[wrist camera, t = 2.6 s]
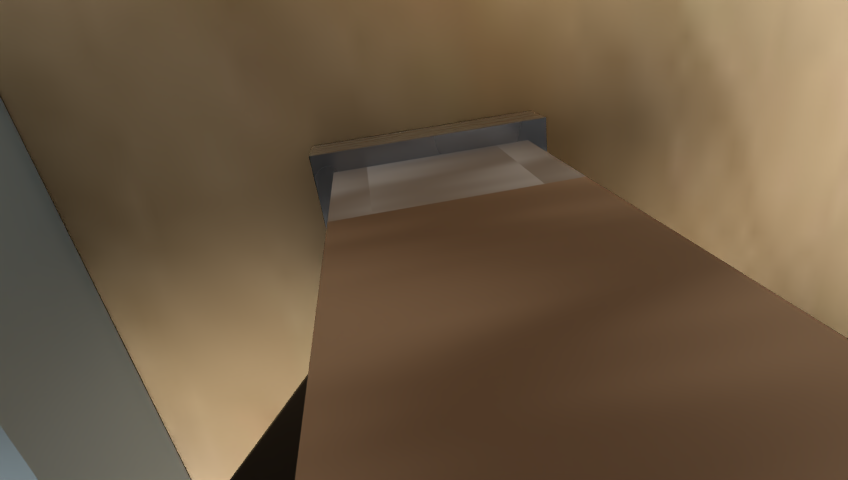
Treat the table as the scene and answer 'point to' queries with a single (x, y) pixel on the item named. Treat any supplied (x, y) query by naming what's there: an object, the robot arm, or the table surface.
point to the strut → (551, 338)
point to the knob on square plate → (421, 146)
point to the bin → (63, 352)
